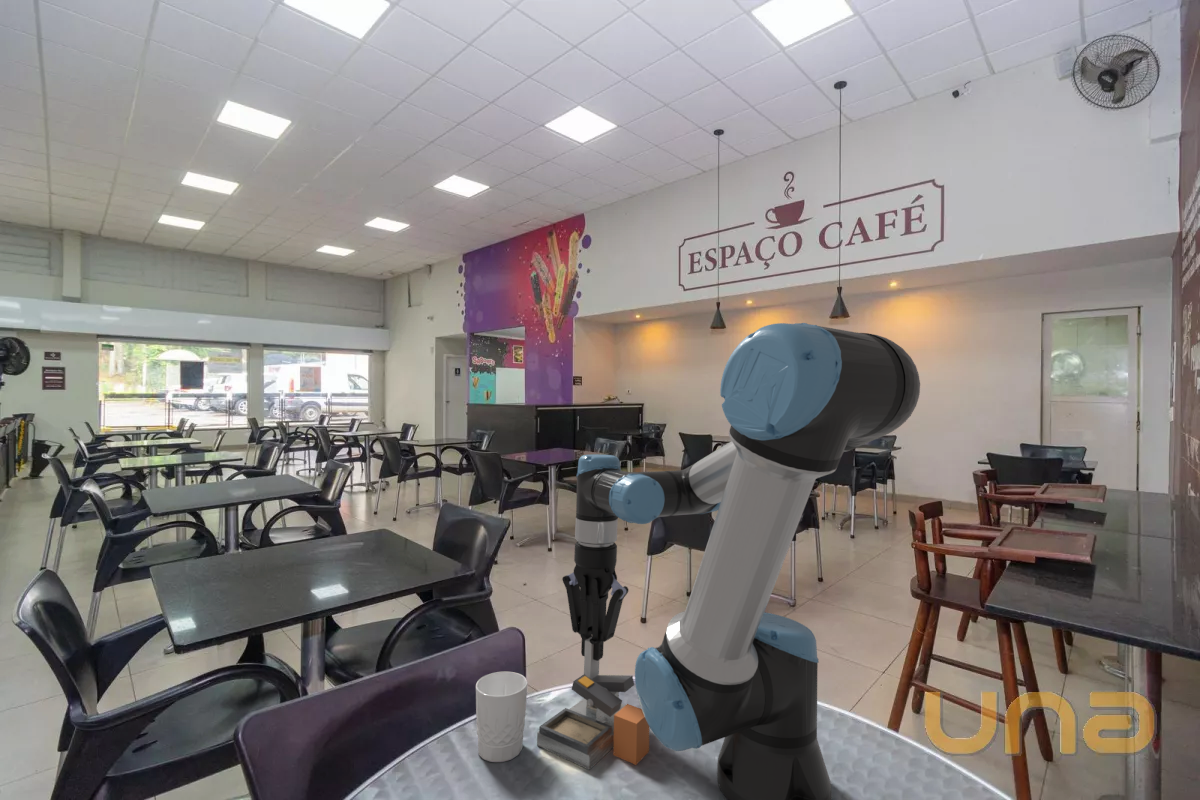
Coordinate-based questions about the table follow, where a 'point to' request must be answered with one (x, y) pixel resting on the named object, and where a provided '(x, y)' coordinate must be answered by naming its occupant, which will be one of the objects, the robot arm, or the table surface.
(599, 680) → the block
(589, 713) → the gray metal tray
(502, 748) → the white cup
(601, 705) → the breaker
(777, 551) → the robot arm
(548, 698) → the table surface
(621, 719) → the cap
